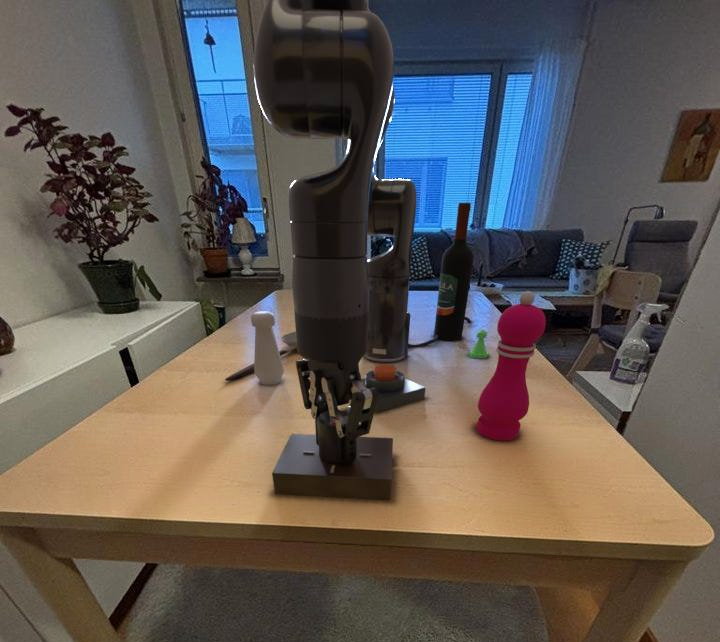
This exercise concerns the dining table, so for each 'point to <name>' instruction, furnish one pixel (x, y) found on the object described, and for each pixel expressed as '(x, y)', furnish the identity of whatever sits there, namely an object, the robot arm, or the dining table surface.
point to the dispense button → (385, 372)
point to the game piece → (479, 346)
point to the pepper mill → (511, 370)
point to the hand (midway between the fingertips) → (335, 452)
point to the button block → (393, 391)
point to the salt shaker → (266, 349)
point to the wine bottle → (454, 282)
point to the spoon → (287, 339)
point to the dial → (328, 437)
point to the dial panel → (335, 470)
